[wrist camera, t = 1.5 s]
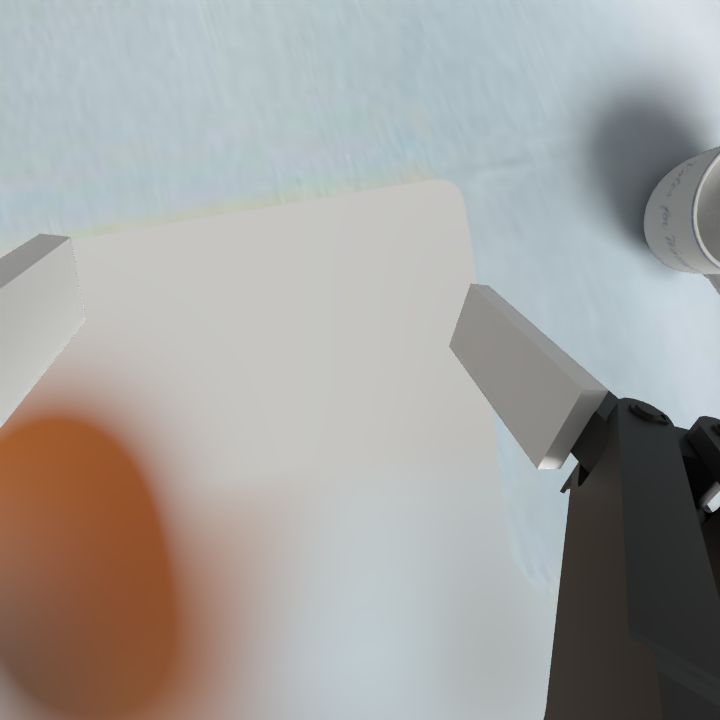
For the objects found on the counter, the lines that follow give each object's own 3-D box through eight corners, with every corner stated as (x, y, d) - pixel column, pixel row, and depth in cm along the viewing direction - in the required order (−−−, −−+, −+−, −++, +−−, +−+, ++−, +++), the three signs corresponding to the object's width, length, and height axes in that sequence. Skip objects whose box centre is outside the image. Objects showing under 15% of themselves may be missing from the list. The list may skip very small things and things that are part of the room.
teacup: (625, 166, 38) (695, 139, 30) (742, 148, 38) (843, 116, 30) (626, 313, 41) (690, 323, 33) (734, 297, 41) (824, 304, 33)
